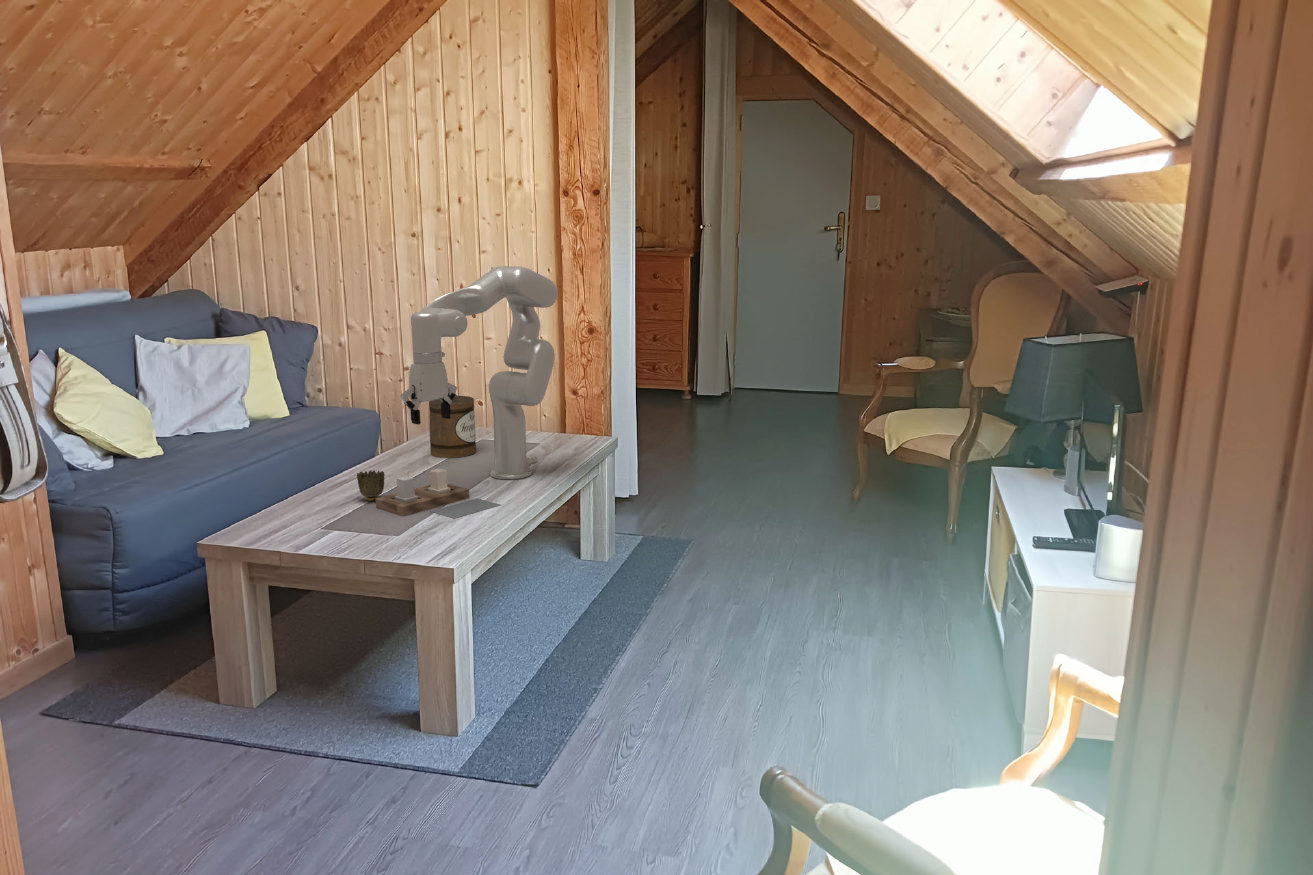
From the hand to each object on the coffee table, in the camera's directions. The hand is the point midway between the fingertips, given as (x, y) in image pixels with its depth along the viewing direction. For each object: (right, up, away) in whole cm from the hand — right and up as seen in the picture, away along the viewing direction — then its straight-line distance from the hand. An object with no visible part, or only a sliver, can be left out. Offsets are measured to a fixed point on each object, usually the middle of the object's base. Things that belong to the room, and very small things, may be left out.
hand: (431, 420), depth 269 cm
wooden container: (-6, -10, +60) cm, 61 cm away
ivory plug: (+1, -21, +5) cm, 22 cm away
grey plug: (-6, -23, -3) cm, 24 cm away
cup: (-17, -22, +5) cm, 29 cm away
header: (-2, -23, +1) cm, 23 cm away
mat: (+10, -24, -4) cm, 26 cm away
